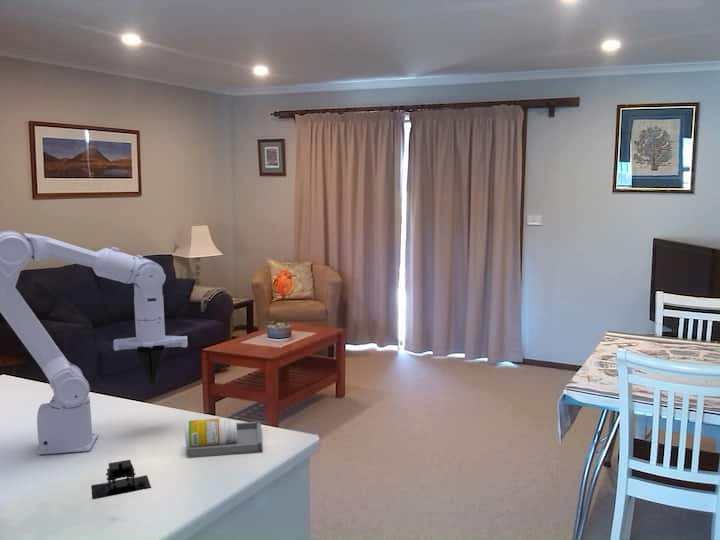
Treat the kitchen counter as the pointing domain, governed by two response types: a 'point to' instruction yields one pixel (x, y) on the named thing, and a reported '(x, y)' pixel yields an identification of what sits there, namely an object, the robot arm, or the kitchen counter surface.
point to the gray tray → (245, 443)
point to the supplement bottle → (209, 432)
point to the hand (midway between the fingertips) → (153, 381)
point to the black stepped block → (120, 481)
